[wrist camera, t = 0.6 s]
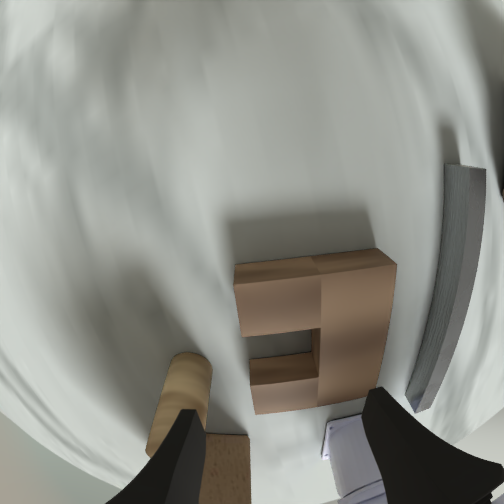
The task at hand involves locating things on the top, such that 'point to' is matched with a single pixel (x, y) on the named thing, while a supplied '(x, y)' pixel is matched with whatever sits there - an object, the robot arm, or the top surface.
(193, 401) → the dowel
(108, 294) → the top surface
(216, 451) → the wooden block
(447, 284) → the rail
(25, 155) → the top surface
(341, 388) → the block
